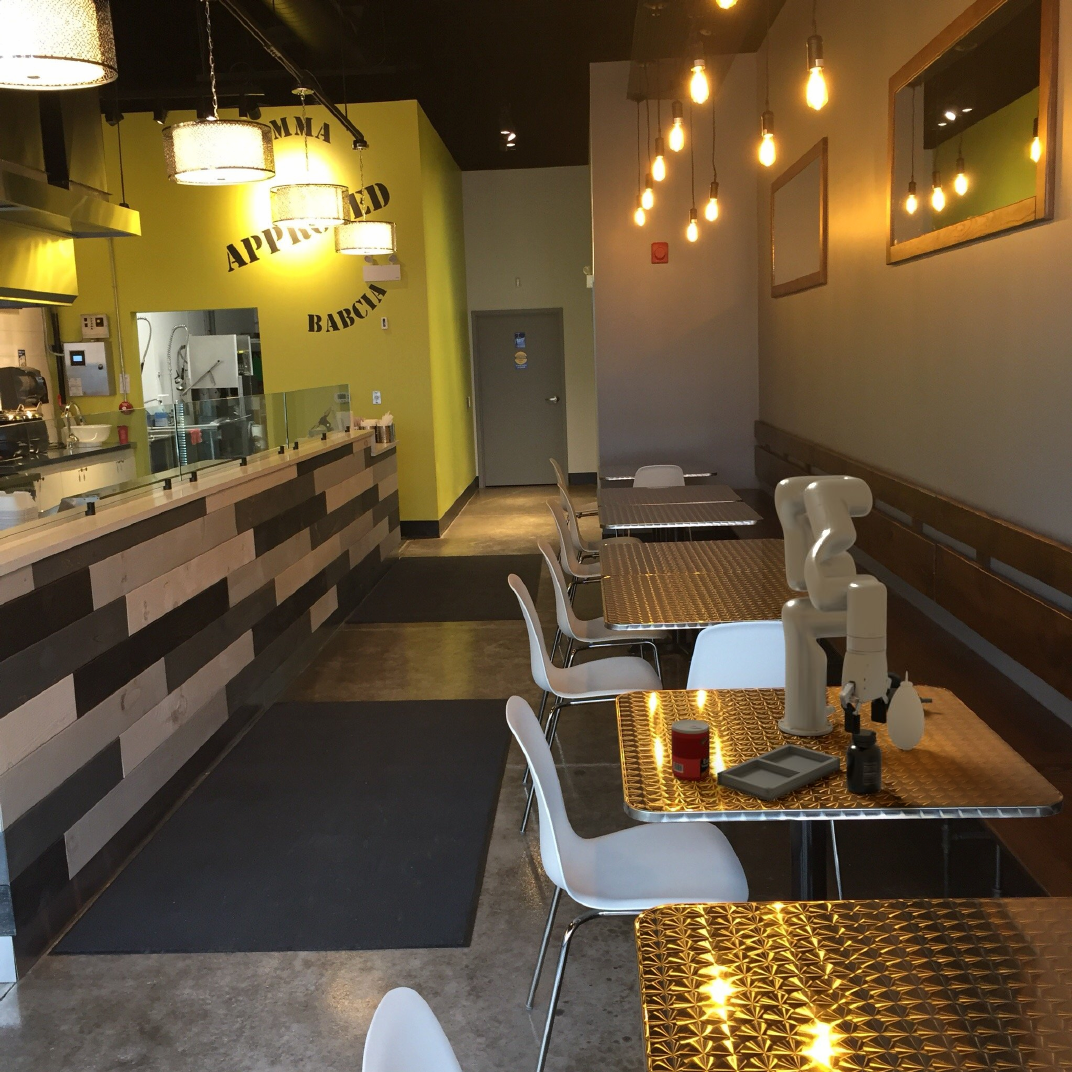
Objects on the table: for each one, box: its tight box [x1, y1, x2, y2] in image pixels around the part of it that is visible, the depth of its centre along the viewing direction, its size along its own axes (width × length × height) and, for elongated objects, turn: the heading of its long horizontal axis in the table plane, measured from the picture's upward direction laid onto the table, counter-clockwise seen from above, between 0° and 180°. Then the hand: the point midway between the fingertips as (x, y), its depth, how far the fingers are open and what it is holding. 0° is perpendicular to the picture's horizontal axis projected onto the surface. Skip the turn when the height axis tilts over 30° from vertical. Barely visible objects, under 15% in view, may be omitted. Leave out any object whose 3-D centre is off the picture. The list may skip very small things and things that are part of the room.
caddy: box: [716, 743, 841, 802], centre depth 222 cm, size 25×13×2 cm, turn 132°
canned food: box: [670, 719, 711, 782], centre depth 224 cm, size 8×8×11 cm
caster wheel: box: [871, 670, 933, 708], centre depth 265 cm, size 6×10×15 cm
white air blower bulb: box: [886, 670, 925, 751], centre depth 235 cm, size 8×8×18 cm
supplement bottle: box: [845, 728, 883, 796], centre depth 214 cm, size 7×7×12 cm
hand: (865, 727), depth 212 cm, fingers open, 9 cm apart
